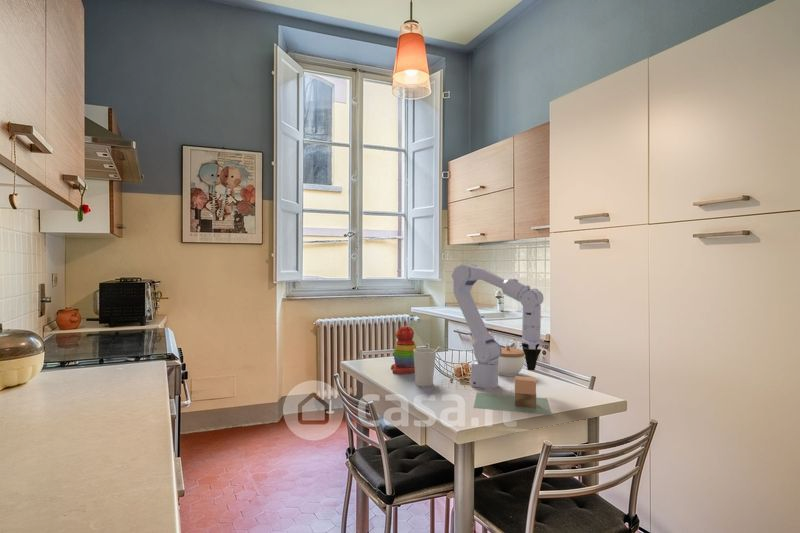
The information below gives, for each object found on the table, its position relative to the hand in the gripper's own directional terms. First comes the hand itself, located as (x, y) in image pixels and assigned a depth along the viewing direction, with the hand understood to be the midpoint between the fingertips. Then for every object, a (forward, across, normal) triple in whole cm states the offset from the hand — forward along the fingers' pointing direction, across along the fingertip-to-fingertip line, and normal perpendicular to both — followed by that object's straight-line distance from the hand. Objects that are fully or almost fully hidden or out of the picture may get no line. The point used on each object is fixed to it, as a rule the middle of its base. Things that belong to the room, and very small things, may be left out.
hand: (530, 367), depth 149 cm
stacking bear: (+10, +21, +47) cm, 52 cm away
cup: (+10, +4, +36) cm, 37 cm away
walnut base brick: (+9, -13, +2) cm, 16 cm away
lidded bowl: (+10, +28, +7) cm, 30 cm away
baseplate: (+9, -12, +6) cm, 16 cm away
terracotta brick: (+5, -13, +2) cm, 14 cm away
